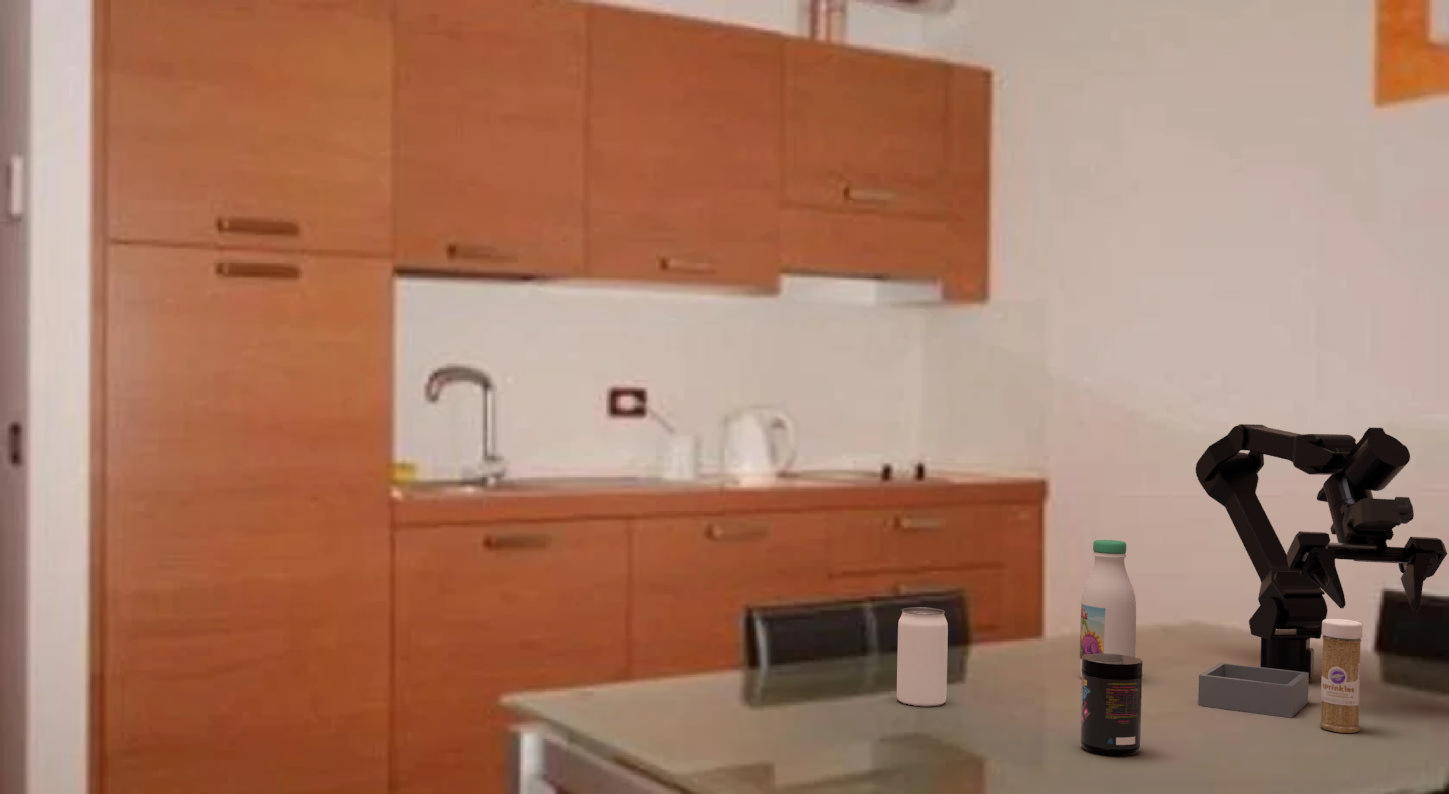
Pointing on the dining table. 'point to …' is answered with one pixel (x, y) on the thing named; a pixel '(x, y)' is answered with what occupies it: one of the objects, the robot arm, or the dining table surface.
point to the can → (922, 657)
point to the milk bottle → (1108, 604)
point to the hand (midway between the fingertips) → (1380, 608)
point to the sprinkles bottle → (1340, 675)
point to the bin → (1253, 689)
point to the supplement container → (1111, 704)
